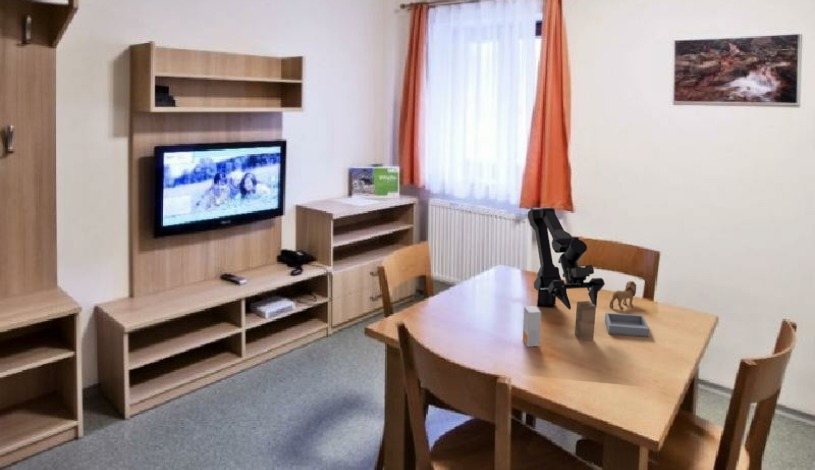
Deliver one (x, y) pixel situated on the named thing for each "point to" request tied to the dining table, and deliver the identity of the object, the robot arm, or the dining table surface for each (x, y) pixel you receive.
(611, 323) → the tray
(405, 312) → the dining table surface
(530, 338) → the skincare box
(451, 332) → the dining table surface
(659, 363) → the dining table surface
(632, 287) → the lion figurine
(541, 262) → the robot arm
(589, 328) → the walnut block
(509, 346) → the dining table surface
